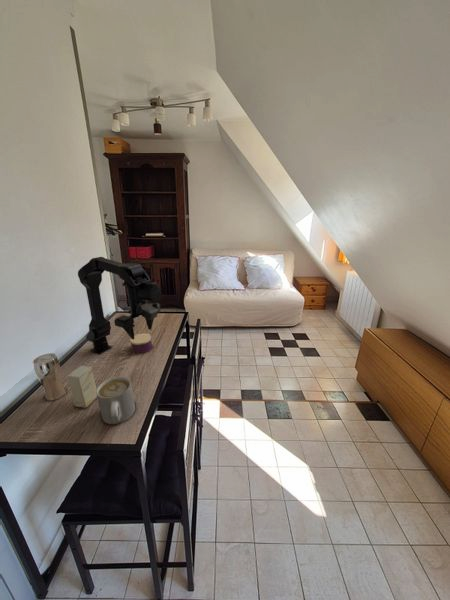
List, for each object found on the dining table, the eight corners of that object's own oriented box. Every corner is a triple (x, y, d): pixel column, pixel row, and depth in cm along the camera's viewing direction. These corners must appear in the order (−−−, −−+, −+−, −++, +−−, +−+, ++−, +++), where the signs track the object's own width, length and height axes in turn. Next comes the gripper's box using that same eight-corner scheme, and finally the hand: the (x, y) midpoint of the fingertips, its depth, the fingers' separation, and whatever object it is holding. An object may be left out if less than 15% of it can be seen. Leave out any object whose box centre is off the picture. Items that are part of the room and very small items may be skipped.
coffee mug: (107, 402, 85) (102, 378, 81) (137, 399, 86) (133, 375, 83) (93, 435, 72) (86, 408, 69) (129, 431, 74) (124, 404, 70)
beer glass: (51, 388, 92) (40, 353, 87) (70, 387, 92) (61, 352, 87) (39, 402, 85) (26, 365, 80) (60, 400, 86) (49, 363, 81)
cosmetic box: (86, 408, 82) (78, 377, 78) (74, 406, 83) (66, 376, 79) (98, 395, 88) (92, 366, 84) (87, 393, 89) (80, 364, 85)
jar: (127, 350, 116) (125, 340, 114) (142, 341, 123) (140, 331, 121) (142, 355, 111) (140, 345, 110) (156, 346, 119) (155, 335, 117)
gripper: (132, 309, 83) (139, 349, 89) (169, 293, 99) (172, 328, 104) (110, 304, 88) (117, 343, 93) (148, 289, 104) (152, 323, 109)
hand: (141, 334), depth 100 cm, fingers open, 9 cm apart
